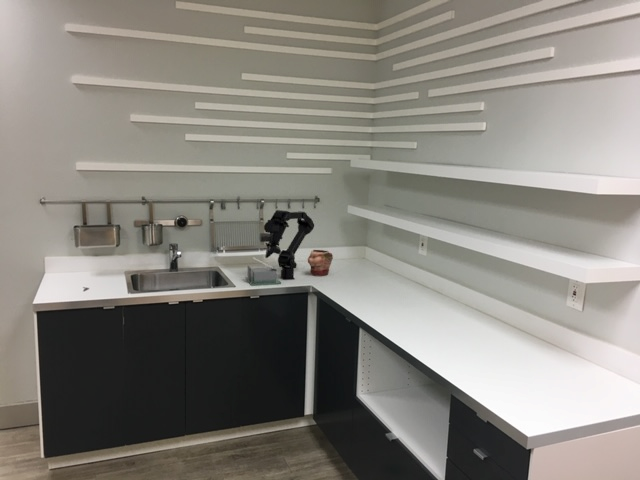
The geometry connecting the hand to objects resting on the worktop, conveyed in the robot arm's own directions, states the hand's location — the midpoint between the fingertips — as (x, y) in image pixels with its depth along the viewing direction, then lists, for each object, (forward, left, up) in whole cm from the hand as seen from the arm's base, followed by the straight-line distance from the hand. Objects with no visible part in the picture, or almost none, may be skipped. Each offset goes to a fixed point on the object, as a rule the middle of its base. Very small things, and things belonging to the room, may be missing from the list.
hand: (266, 257), depth 284 cm
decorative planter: (-34, -6, -13) cm, 37 cm away
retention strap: (+2, +4, -3) cm, 5 cm away
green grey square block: (+3, +4, -12) cm, 13 cm away
